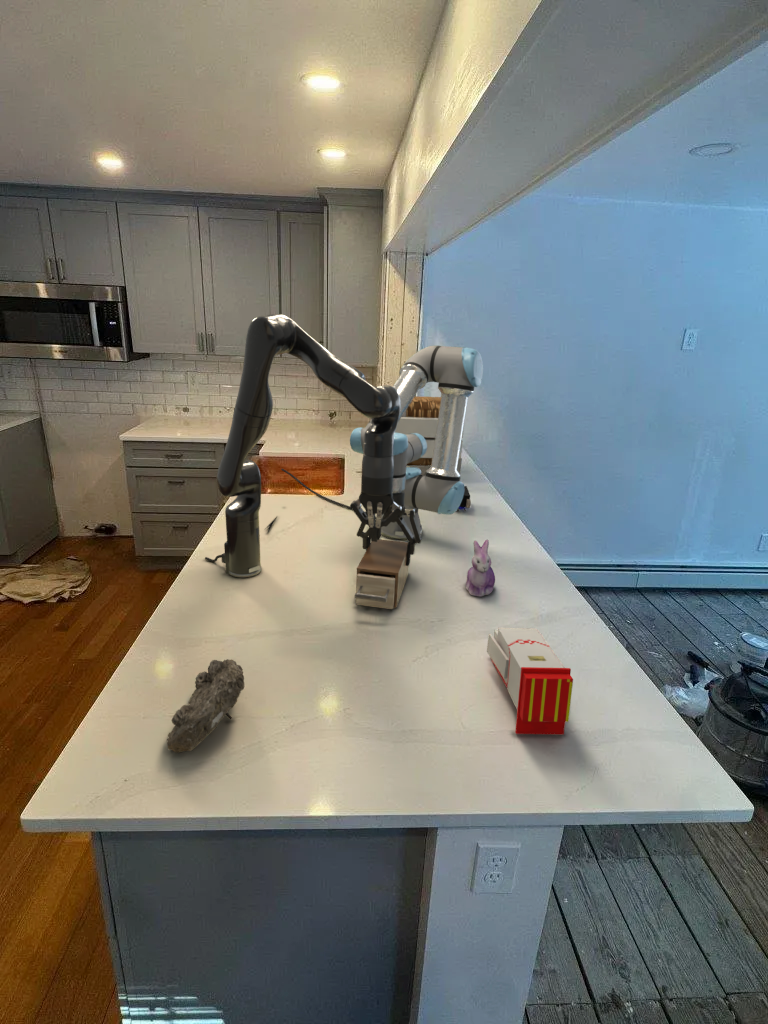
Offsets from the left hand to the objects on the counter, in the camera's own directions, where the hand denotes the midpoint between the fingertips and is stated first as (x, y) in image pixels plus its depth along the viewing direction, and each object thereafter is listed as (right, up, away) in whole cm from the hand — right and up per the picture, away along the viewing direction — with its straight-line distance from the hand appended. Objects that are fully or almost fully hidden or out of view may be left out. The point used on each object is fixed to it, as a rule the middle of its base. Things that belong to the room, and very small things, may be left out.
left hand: (374, 540), depth 139 cm
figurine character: (+33, +9, +90) cm, 96 cm away
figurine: (+30, -15, +23) cm, 41 cm away
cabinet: (+2, -15, +22) cm, 26 cm away
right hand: (+3, -7, +25) cm, 26 cm away
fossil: (-30, -32, -31) cm, 54 cm away
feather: (-37, +4, +68) cm, 78 cm away
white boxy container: (+20, +26, +136) cm, 140 cm away
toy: (+31, -31, -19) cm, 48 cm away
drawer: (+1, -16, +16) cm, 22 cm away
